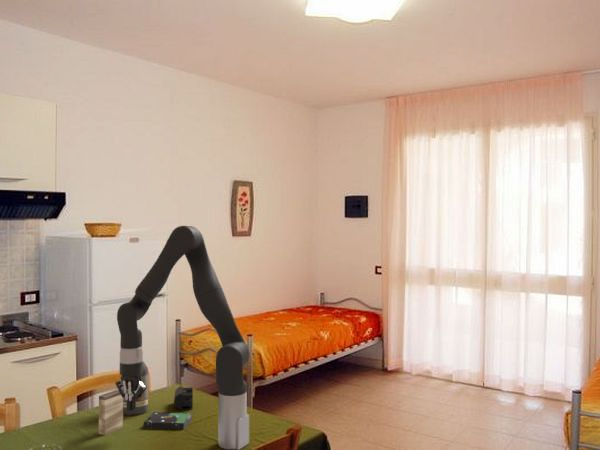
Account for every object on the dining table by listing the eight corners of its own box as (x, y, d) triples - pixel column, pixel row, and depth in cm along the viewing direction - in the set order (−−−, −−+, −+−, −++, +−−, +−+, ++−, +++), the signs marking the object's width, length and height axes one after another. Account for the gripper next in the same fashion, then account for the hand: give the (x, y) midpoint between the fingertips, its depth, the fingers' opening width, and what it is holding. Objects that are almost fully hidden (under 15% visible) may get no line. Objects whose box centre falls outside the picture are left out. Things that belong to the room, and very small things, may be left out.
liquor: (121, 408, 204) (121, 332, 204) (145, 405, 208) (146, 330, 208) (123, 416, 196) (123, 336, 196) (148, 413, 199) (148, 334, 199)
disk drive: (143, 430, 185) (184, 430, 184) (143, 422, 185) (184, 422, 184) (153, 419, 195) (192, 419, 194) (153, 411, 195) (192, 412, 194)
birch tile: (122, 427, 186) (123, 390, 186) (104, 435, 178) (105, 397, 178) (116, 425, 187) (117, 389, 187) (98, 433, 180) (98, 396, 180)
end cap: (174, 402, 211) (174, 386, 211) (192, 401, 213) (192, 385, 213) (173, 411, 202) (173, 394, 202) (192, 410, 203) (192, 392, 203)
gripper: (153, 360, 178) (153, 410, 178) (125, 355, 185) (125, 404, 185) (137, 365, 172) (137, 417, 172) (108, 360, 178) (108, 410, 178)
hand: (130, 410), depth 178 cm, fingers closed
